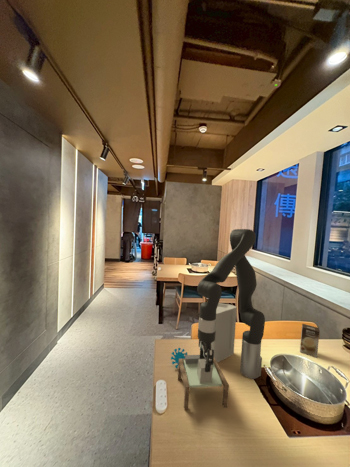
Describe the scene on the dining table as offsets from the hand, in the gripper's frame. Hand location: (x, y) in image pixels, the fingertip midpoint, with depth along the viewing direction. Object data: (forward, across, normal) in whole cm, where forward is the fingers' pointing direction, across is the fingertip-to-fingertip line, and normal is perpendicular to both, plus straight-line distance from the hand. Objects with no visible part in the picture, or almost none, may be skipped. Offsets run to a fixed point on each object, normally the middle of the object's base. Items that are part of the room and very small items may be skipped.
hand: (204, 365), depth 90 cm
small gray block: (+2, 0, 0) cm, 2 cm away
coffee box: (+15, +29, -76) cm, 83 cm away
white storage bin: (+15, +32, -16) cm, 39 cm away
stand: (+15, +4, 0) cm, 15 cm away
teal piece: (+15, +22, +6) cm, 27 cm away
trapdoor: (+6, +4, 0) cm, 7 cm away
